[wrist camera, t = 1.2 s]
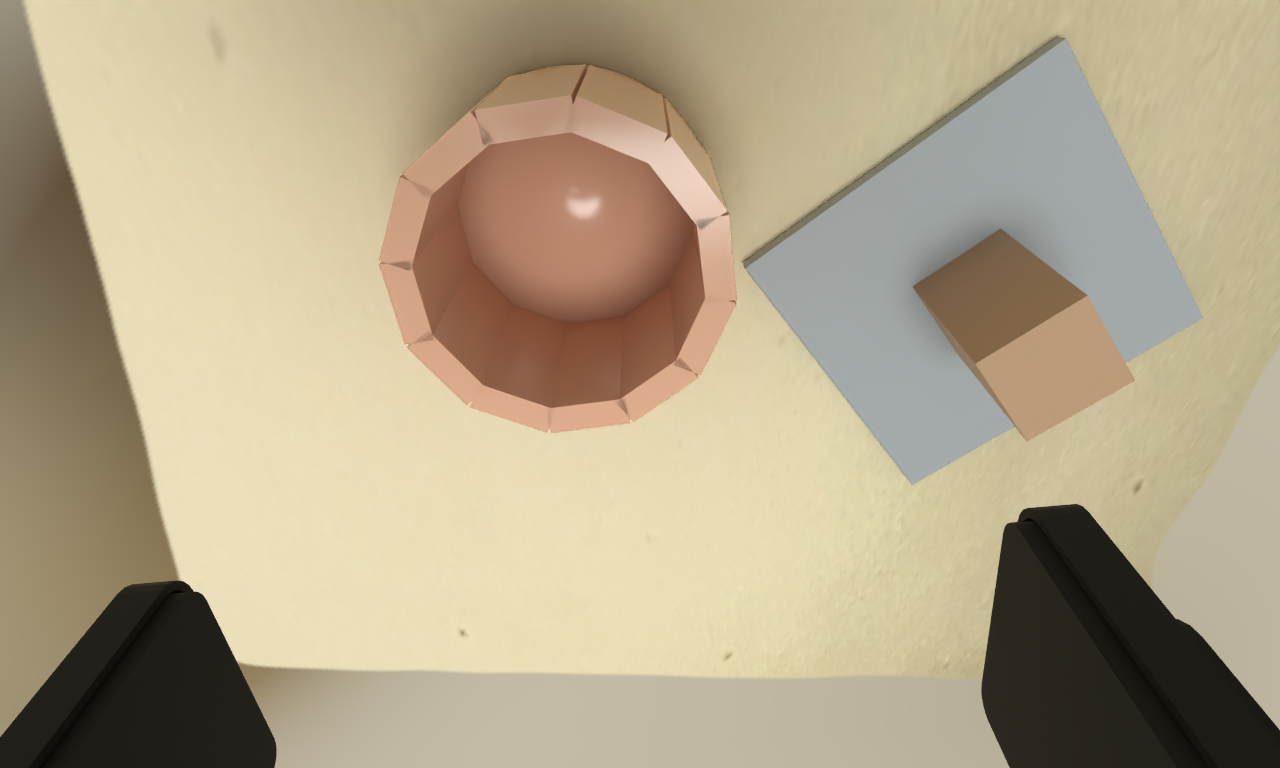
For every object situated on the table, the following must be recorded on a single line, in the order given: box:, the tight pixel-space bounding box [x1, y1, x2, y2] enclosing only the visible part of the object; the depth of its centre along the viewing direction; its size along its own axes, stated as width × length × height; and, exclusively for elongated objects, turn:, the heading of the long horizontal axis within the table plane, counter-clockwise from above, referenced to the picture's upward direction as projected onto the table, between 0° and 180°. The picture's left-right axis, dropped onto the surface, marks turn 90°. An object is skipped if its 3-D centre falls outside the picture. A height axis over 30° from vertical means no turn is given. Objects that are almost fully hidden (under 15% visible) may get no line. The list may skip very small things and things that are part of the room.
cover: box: [743, 37, 1203, 485], centre depth 31 cm, size 14×14×8 cm
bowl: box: [379, 64, 737, 433], centre depth 29 cm, size 11×11×8 cm
